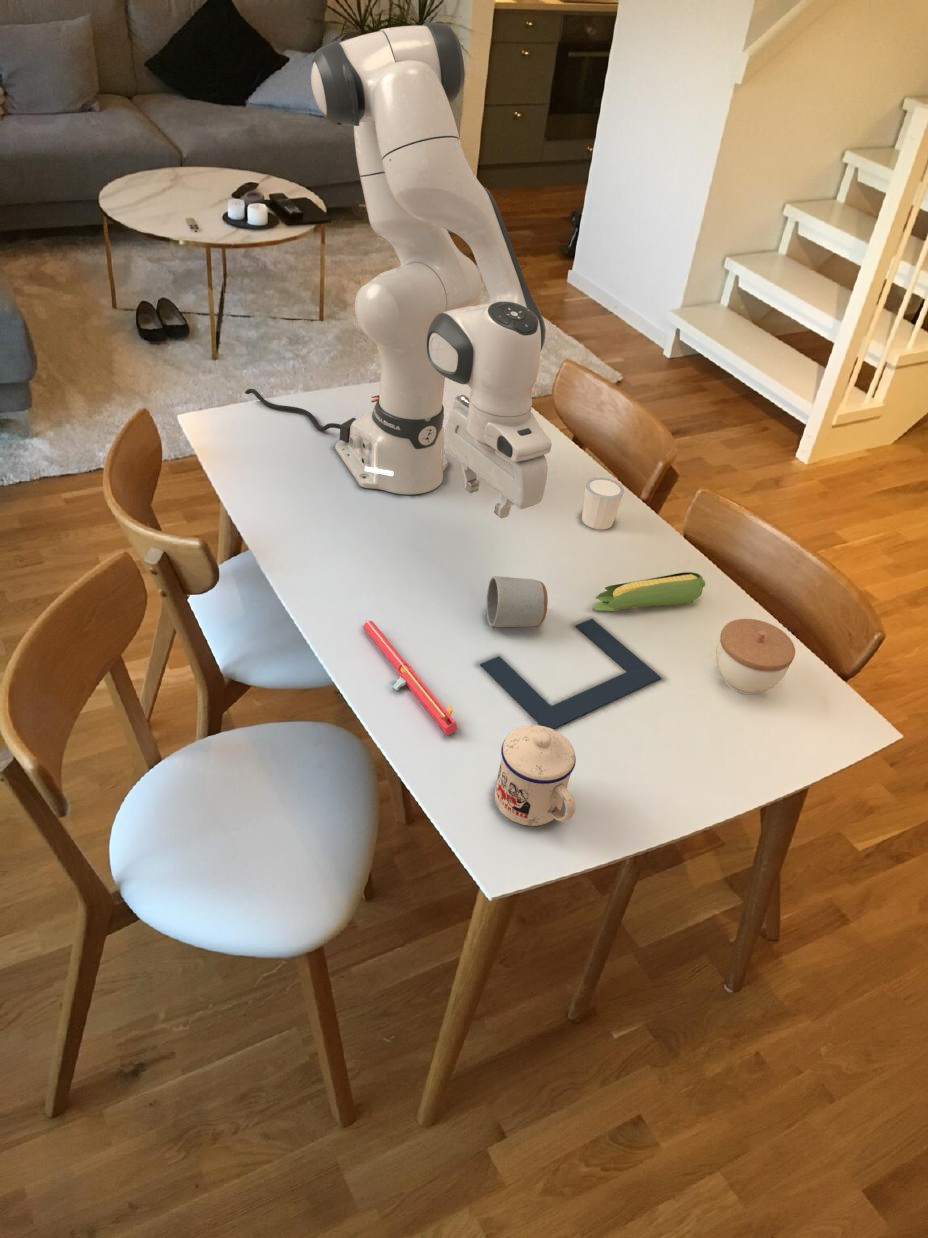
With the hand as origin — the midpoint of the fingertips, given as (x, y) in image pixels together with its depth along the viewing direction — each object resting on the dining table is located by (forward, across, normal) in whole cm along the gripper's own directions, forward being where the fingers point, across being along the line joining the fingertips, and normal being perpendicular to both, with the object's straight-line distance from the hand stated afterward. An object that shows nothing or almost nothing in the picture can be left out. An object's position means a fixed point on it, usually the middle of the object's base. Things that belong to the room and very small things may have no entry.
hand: (485, 502), depth 151 cm
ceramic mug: (+15, +9, 0) cm, 18 cm away
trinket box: (+15, +38, +22) cm, 47 cm away
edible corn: (+15, +17, +22) cm, 32 cm away
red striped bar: (+15, +14, -22) cm, 31 cm away
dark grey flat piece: (+15, +24, 0) cm, 29 cm away
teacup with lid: (+15, +41, -21) cm, 49 cm away
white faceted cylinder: (+15, -5, +31) cm, 35 cm away
